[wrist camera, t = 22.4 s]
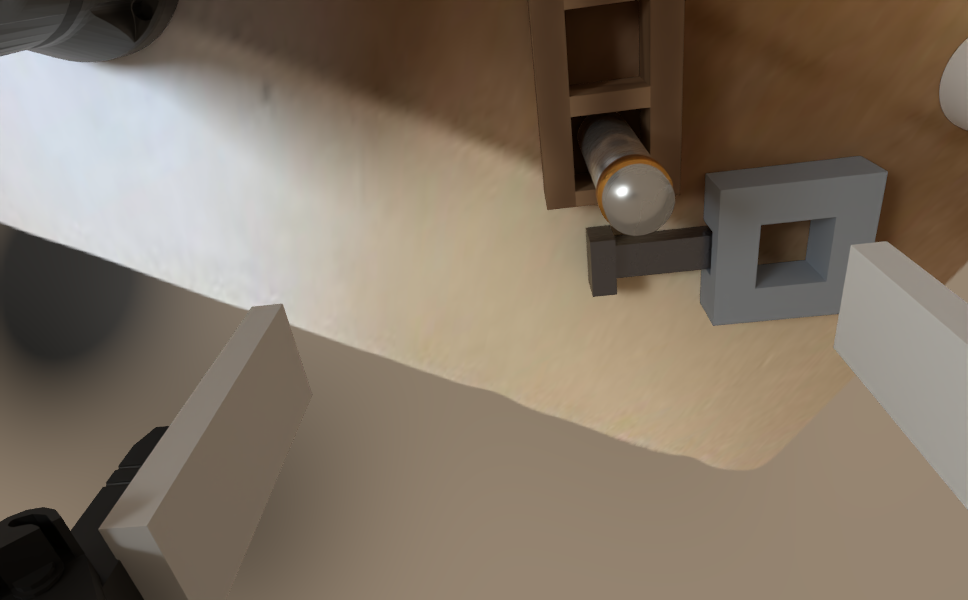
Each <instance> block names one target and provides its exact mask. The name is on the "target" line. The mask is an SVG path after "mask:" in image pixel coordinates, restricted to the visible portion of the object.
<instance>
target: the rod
mask: <svg viewBox="0 0 968 600" xmlns="http://www.w3.org/2000/svg"><path fill="white" fill-rule="evenodd" d="M578 144H579V147H580V149H581V152H582V154H583V157H584V160H585V162H586V165H587V167H588V170H589V173H590V175H591V178H592V180H593V183H594V185H595V188H596V199H597V202H598V205H599V208H600V210H601V213H602V215H603V216H604V218H605V219H606V220H607V221H608V222H609V223H610V224H611V225H612V226H613V227H614V228H615V229H616V230H618V231H619V232H621V233H624V234H627V235H633V236H640V235H645V234H649V233H651V232H654V231H655V230H657V229H659V228H660V227H661V226H662V225H664V224H665V222H666V221H667V220H668V219H669V217H670V216H671V214H672V211H673V209H674V205H675V194H674V190H673V184H672V181H671V178H670V176H669V175H668V173H667V172H666V171H665V169H664V168H663V166H662V165H661V164H660V163H659V162H658V161H656V160H655V159H653V158H652V157H651V156H650V154H649V153H648V151H647V150H646V149H645V147H644V146H643V144H642V143H641V141H640V140H639V139H638V137H637V136H636V134H635V133H634V132H633V130H632V129H631V127H630V126H629V125H628V123H627V122H626V120H625V119H624V118H623V117H622V116H621V115H620V114H619V113H617V112H608V113H600V114H592V115H588V116H587V117H586V118H585V119H584V120H583V122H582V123H581V125H580V127H579V130H578Z"/></svg>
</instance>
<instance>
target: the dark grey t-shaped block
mask: <svg viewBox="0 0 968 600" xmlns="http://www.w3.org/2000/svg"><path fill="white" fill-rule="evenodd" d="M712 236H713V234H712V233H711V231H710V230H709V229H708V227H707V226H700V227H691V228H682V229H672V230H663V231H654V232H651V233H649V234H645V235H640V236H633V235H627V234H626V235H617V236H614V235H613V233H612V230H611V227H610V225H608V226H599V227H590V228H586V242H587V260H588V279H589V284H590V288H591V291H592V295H593V297H595V296H605V295H615V294H617V279H616V278H623V277H632V276H642V275H652V274H662V273H672V272H681V271H691V270H701V269H711V255H712Z"/></svg>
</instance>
